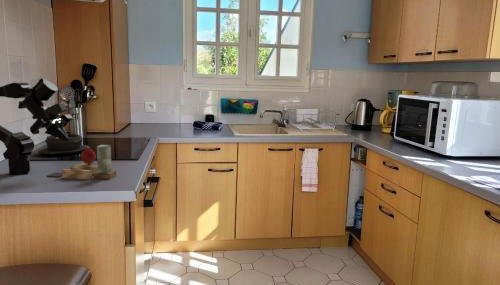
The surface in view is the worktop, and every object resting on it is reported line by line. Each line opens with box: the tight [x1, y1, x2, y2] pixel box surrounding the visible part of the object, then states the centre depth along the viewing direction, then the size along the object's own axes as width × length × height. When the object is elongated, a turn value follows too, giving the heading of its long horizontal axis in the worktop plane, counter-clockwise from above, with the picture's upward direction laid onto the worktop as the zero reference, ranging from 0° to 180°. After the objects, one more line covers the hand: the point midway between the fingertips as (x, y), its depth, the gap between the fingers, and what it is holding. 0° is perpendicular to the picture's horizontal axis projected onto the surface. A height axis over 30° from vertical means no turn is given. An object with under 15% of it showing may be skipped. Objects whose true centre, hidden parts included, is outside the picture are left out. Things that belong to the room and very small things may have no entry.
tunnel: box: [61, 162, 98, 180], centre depth 145 cm, size 11×8×4 cm
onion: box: [80, 146, 97, 166], centre depth 164 cm, size 6×6×8 cm
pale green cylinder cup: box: [92, 144, 117, 180], centre depth 144 cm, size 7×5×12 cm
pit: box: [46, 172, 62, 178], centre depth 145 cm, size 5×5×1 cm
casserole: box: [37, 133, 90, 156], centre depth 189 cm, size 25×19×8 cm
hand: (68, 140), depth 144 cm, fingers closed
